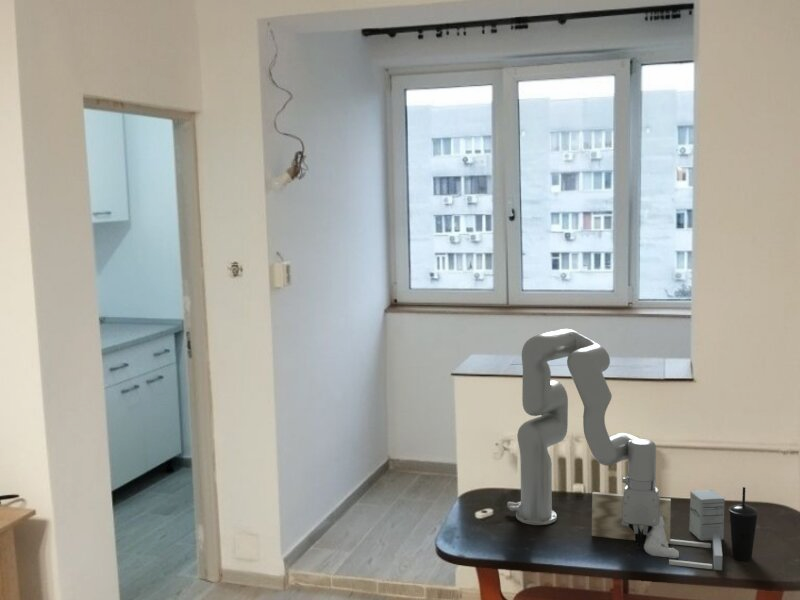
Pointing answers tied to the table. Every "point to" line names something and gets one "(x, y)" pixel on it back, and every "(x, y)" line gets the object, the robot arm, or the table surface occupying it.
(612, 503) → the screen
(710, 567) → the frame
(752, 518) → the drinking cup
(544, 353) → the robot arm
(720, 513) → the grey tall block
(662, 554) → the white creature statuette
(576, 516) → the table surface
